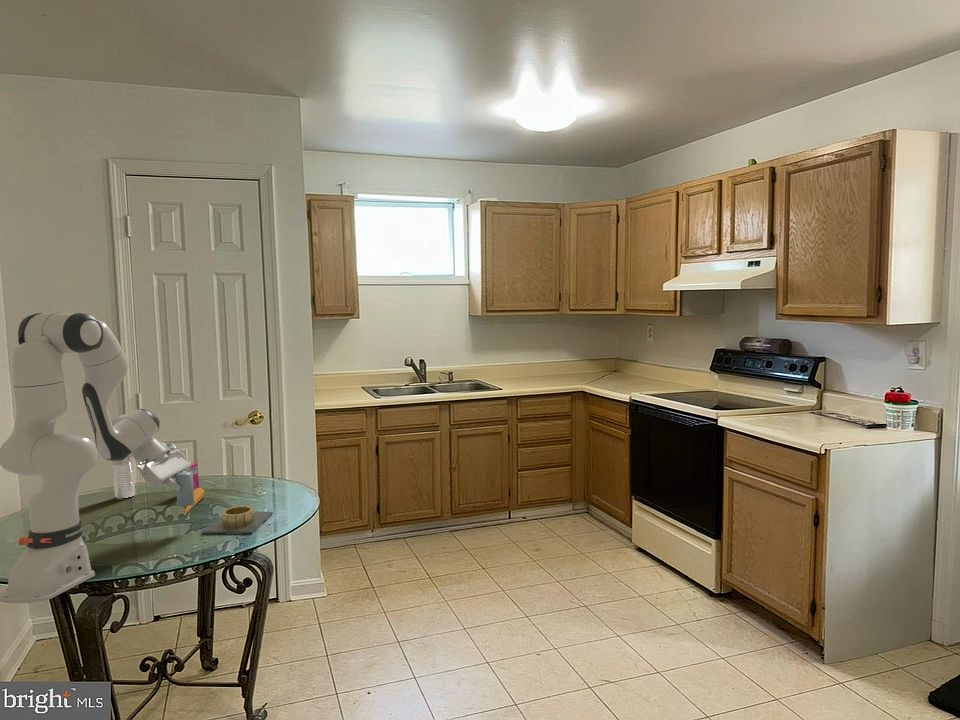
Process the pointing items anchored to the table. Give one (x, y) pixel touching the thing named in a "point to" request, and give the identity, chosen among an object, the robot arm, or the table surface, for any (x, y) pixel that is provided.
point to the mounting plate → (248, 528)
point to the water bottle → (123, 478)
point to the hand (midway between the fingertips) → (185, 486)
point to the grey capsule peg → (185, 489)
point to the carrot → (196, 498)
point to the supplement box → (194, 475)
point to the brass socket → (238, 516)
